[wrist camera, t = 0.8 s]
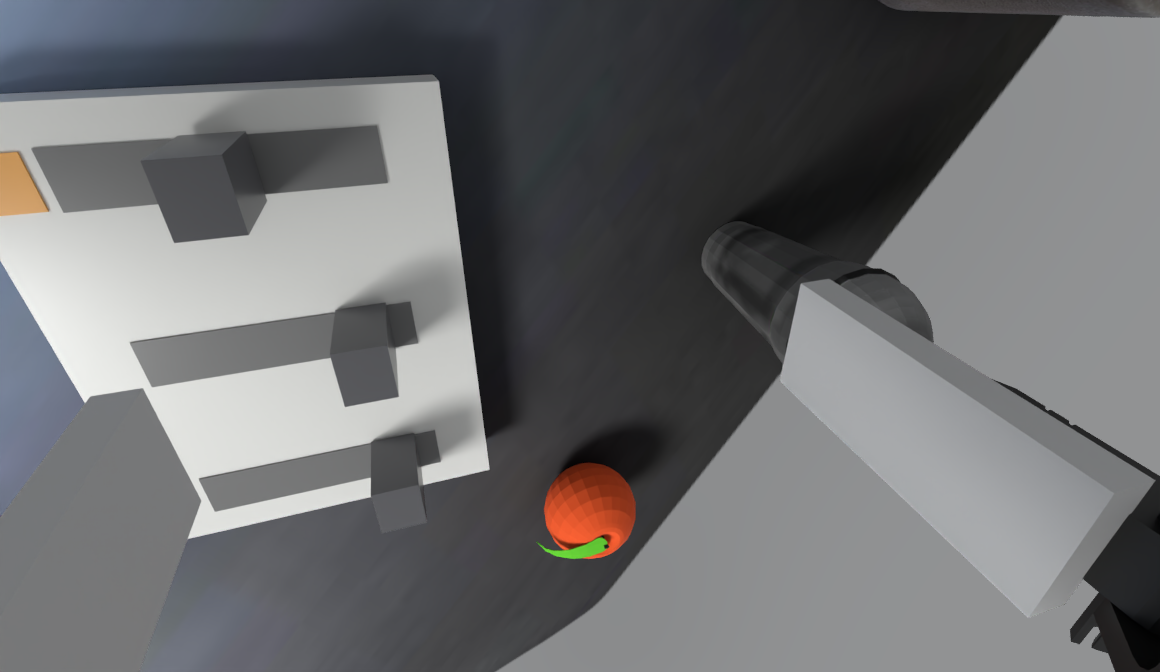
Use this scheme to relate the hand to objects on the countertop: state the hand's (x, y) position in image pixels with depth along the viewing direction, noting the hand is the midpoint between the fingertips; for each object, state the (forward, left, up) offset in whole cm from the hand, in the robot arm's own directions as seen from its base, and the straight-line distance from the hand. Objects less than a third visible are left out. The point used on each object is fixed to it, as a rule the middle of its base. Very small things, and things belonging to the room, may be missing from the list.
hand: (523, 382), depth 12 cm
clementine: (+7, -26, -22) cm, 35 cm away
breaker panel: (-9, -8, -22) cm, 25 cm away
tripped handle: (-9, +1, -18) cm, 20 cm away
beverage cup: (+19, -8, -22) cm, 30 cm away
